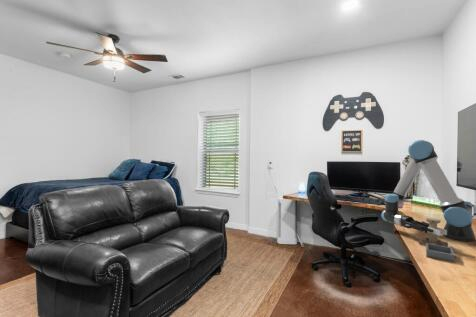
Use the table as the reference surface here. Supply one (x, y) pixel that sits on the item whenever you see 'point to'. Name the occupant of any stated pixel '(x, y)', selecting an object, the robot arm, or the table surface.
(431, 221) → the handle
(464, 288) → the table surface
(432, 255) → the tray
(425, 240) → the collar
